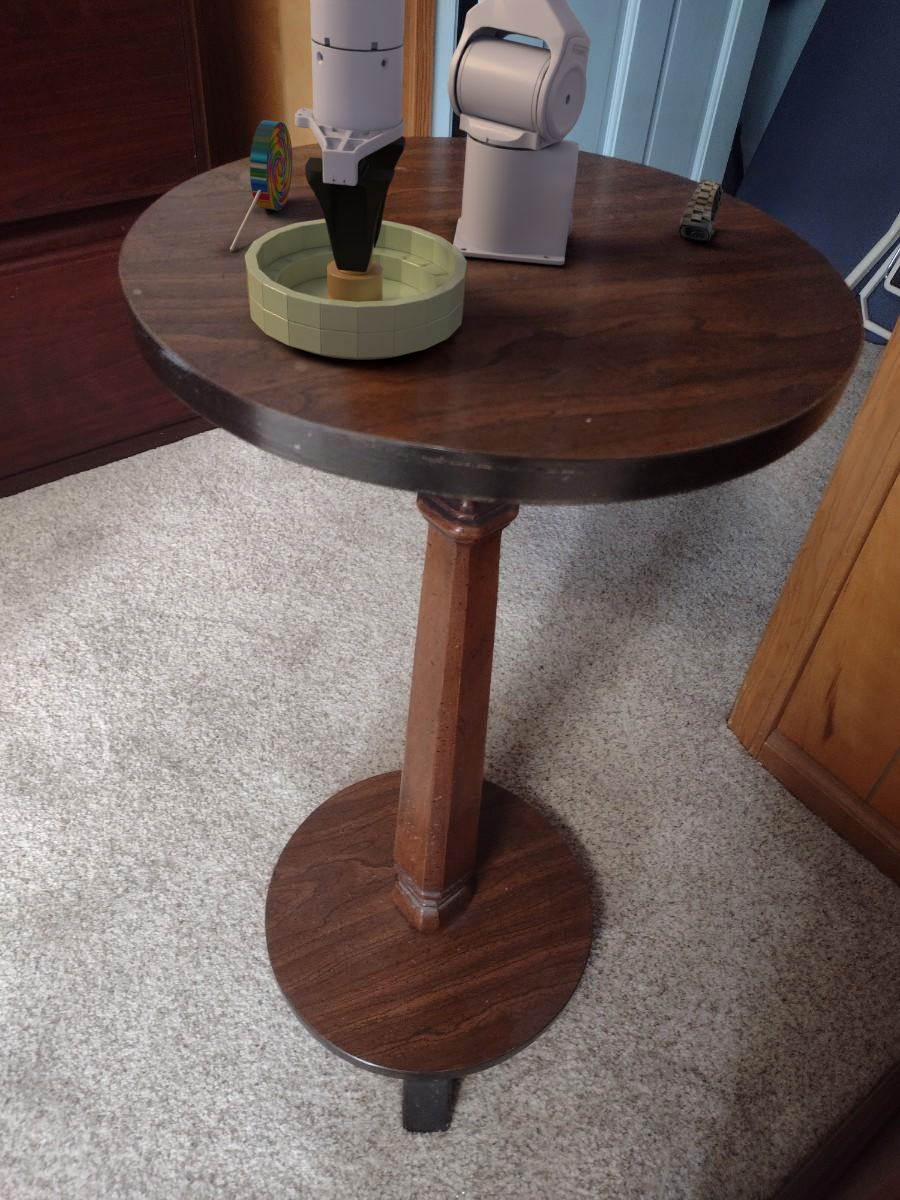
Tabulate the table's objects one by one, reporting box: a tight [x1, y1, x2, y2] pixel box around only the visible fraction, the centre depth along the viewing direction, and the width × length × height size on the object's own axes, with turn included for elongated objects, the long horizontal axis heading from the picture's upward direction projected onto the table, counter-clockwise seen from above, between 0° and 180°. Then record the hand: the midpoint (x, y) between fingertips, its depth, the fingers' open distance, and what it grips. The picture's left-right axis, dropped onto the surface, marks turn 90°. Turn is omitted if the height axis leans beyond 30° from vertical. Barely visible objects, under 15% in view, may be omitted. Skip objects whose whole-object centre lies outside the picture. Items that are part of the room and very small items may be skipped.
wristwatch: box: [678, 178, 724, 243], centre depth 87 cm, size 3×5×5 cm
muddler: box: [327, 243, 383, 302], centre depth 69 cm, size 4×4×8 cm
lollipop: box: [229, 119, 294, 252], centre depth 83 cm, size 7×1×15 cm
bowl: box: [244, 218, 468, 361], centre depth 70 cm, size 16×16×4 cm
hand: (357, 256), depth 69 cm, fingers open, 4 cm apart
